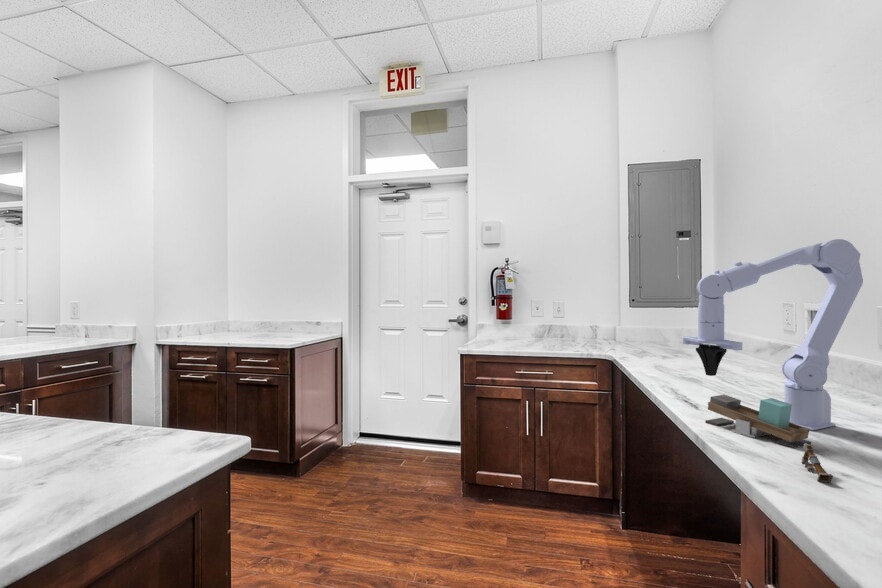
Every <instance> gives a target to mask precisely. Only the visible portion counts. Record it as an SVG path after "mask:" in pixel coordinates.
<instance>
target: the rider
mask: <svg viewBox="0 0 882 588" xmlns="http://www.w3.org/2000/svg"><path fill="white" fill-rule="evenodd" d="M758 408H759V409H758V411H759V415H758V420H760V421H763V422H765V423H768V424H771V425H773V426H776V427H779V428H785V427H789V421H790V414H791V408H792V404H789V403H785V402H784V401H783V400H779V399H775V398H773V397H769V398H764V399H760V402H759V407H758Z"/></svg>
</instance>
